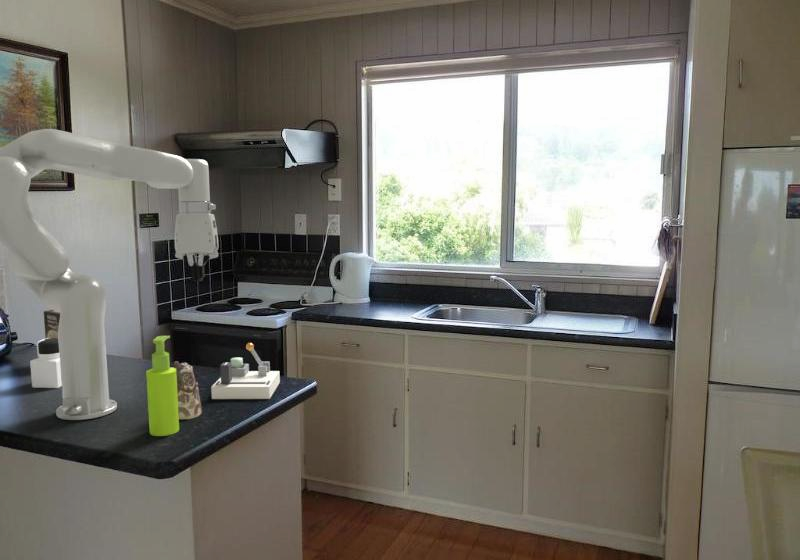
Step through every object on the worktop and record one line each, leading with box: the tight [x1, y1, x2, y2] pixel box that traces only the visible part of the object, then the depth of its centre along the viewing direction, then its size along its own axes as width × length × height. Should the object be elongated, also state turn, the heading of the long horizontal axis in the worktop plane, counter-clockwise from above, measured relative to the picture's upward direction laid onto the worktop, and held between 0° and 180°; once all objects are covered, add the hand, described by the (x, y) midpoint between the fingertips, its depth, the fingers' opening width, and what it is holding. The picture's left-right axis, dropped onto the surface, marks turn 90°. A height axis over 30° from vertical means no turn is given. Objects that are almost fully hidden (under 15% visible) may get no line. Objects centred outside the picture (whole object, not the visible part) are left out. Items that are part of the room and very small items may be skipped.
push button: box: [230, 356, 244, 368], centre depth 173 cm, size 3×3×2 cm
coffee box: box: [43, 309, 60, 339], centre depth 193 cm, size 9×6×16 cm
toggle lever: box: [245, 342, 268, 370], centre depth 173 cm, size 3×2×9 cm, turn 0°
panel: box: [210, 361, 281, 400], centre depth 169 cm, size 14×14×6 cm
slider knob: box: [219, 361, 232, 383], centre depth 165 cm, size 3×2×4 cm
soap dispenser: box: [145, 335, 180, 437], centre depth 140 cm, size 6×7×20 cm
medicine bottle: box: [29, 338, 62, 389], centre depth 174 cm, size 7×7×12 cm
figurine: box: [173, 360, 203, 420], centre depth 151 cm, size 7×7×12 cm
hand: (198, 280), depth 172 cm, fingers closed
